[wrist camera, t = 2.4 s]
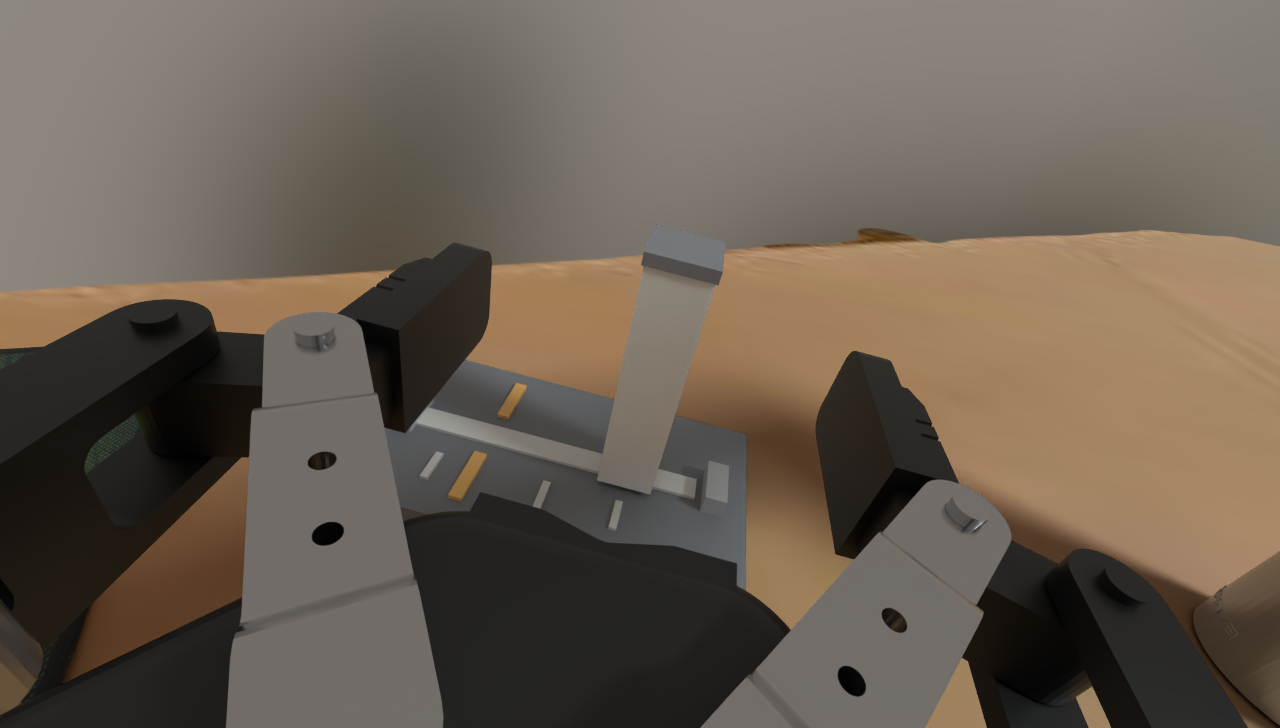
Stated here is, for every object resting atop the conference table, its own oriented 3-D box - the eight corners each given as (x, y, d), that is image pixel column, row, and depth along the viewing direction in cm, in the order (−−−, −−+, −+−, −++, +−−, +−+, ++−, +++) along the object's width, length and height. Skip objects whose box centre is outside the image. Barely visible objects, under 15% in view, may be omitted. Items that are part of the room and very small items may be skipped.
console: (735, 460, 37) (752, 420, 35) (730, 627, 27) (753, 587, 25) (428, 378, 37) (426, 335, 35) (313, 513, 27) (301, 464, 25)
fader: (659, 455, 32) (725, 242, 24) (651, 496, 29) (722, 271, 21) (607, 441, 32) (655, 223, 24) (594, 481, 29) (644, 251, 21)
